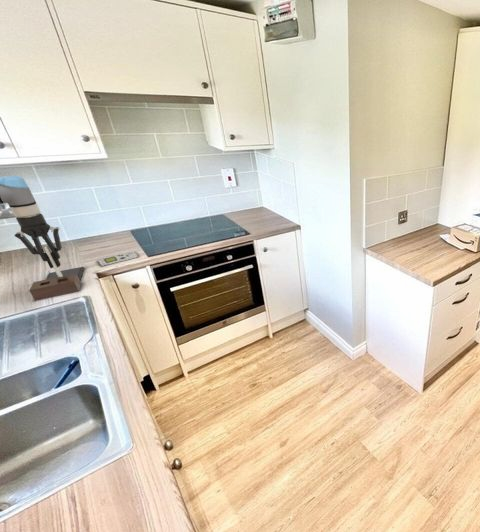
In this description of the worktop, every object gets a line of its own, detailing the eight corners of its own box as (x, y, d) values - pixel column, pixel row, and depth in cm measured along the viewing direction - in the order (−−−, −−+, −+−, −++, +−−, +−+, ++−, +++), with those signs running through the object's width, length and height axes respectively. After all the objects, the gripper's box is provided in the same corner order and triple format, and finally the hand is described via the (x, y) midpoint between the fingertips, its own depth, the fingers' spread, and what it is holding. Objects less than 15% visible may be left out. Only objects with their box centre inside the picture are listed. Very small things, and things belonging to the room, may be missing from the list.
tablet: (42, 289, 139) (41, 287, 138) (50, 274, 150) (49, 272, 150) (79, 282, 145) (78, 279, 145) (84, 268, 157) (83, 266, 156)
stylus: (59, 280, 143) (42, 247, 136) (60, 279, 144) (43, 246, 138) (64, 280, 144) (47, 246, 137) (64, 278, 145) (48, 245, 138)
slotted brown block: (78, 291, 138) (73, 281, 136) (35, 300, 131) (29, 290, 129) (81, 283, 144) (76, 273, 142) (39, 292, 137) (33, 281, 135)
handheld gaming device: (137, 255, 168) (101, 264, 158) (138, 256, 169) (101, 266, 159) (133, 250, 174) (97, 259, 163) (133, 252, 174) (98, 260, 164)
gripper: (55, 210, 137) (78, 259, 148) (5, 215, 130) (34, 267, 140) (51, 214, 132) (76, 265, 143) (-1, 220, 124) (30, 273, 135)
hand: (55, 266), depth 142 cm, fingers closed on stylus, 1 cm apart
